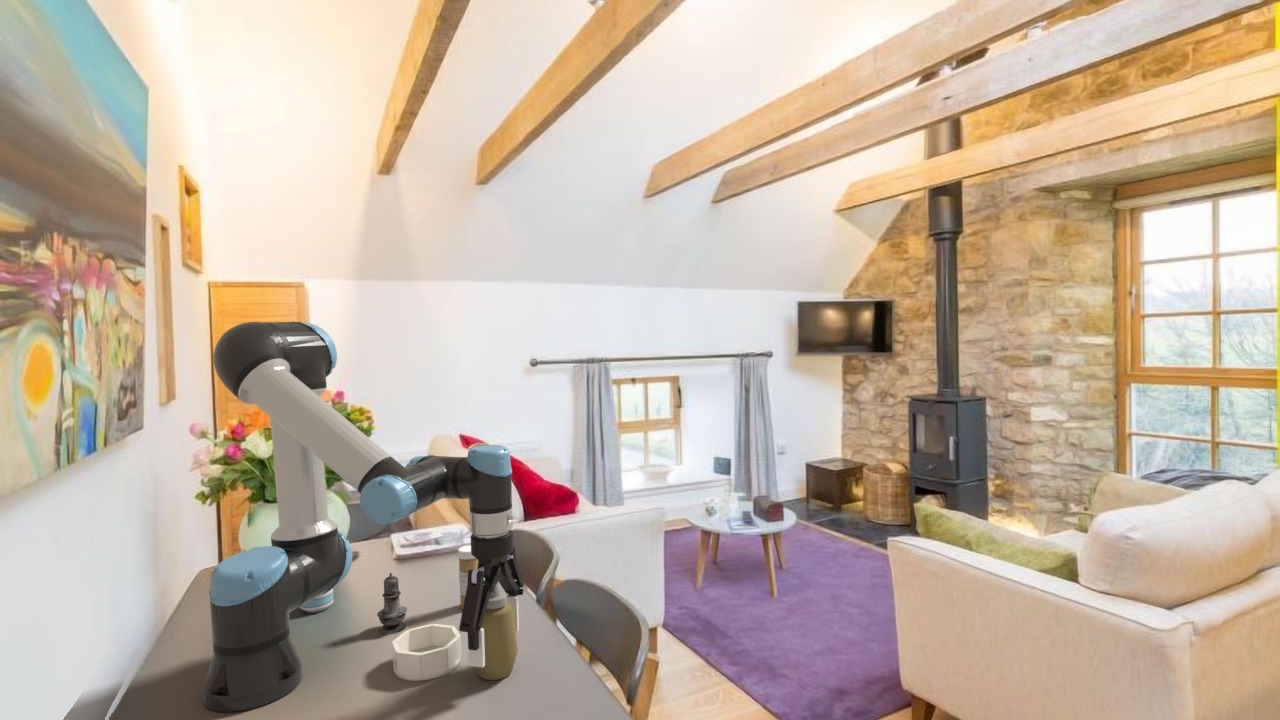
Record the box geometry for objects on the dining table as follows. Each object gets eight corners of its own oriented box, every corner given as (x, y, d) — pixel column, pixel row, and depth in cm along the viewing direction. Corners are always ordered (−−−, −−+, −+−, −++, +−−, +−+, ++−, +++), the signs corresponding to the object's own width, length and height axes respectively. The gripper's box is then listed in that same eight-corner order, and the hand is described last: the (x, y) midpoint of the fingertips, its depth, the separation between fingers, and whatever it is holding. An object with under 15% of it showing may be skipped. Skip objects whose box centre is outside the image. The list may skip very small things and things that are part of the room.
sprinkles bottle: (475, 600, 150) (473, 543, 149) (484, 606, 147) (482, 548, 146) (456, 605, 147) (454, 547, 147) (464, 612, 144) (463, 552, 143)
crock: (400, 688, 114) (399, 661, 113) (388, 658, 124) (387, 634, 124) (468, 668, 120) (467, 643, 119) (451, 642, 130) (450, 618, 130)
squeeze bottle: (499, 656, 124) (497, 564, 123) (527, 670, 119) (525, 574, 118) (464, 674, 118) (461, 577, 117) (492, 689, 113) (489, 588, 112)
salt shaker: (397, 635, 133) (395, 578, 133) (371, 633, 134) (369, 576, 134) (413, 623, 139) (411, 568, 138) (388, 621, 140) (386, 566, 140)
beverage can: (331, 599, 152) (329, 549, 151) (335, 609, 146) (333, 557, 146) (298, 606, 148) (296, 555, 148) (301, 617, 143) (299, 564, 142)
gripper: (476, 557, 104) (480, 685, 105) (538, 513, 128) (541, 618, 129) (434, 553, 106) (439, 680, 107) (504, 511, 130) (507, 615, 131)
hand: (495, 646), depth 118 cm, fingers open, 13 cm apart
